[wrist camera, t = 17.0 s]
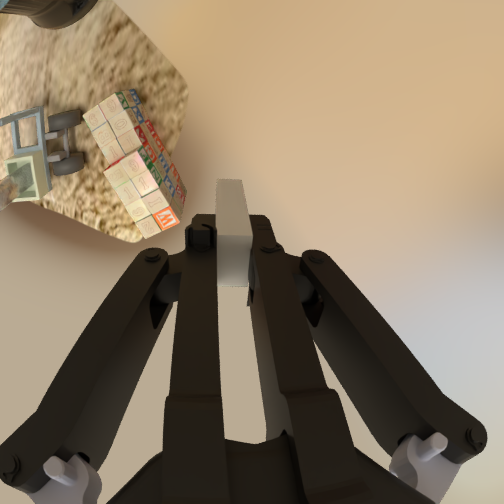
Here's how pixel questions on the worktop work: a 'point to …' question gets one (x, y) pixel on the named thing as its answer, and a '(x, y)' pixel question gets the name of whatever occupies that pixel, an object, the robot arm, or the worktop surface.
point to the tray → (38, 174)
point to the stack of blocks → (137, 162)
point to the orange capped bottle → (15, 184)
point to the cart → (57, 127)
